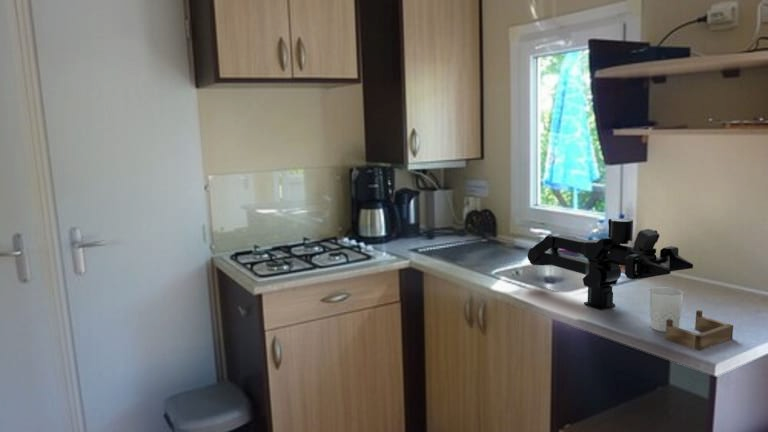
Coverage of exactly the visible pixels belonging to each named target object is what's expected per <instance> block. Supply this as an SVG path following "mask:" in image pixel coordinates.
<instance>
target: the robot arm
mask: <svg viewBox="0 0 768 432" xmlns="http://www.w3.org/2000/svg"><path fill="white" fill-rule="evenodd" d="M633 234H634V219H632V218H628V217H627V218H614V217H613V218H612V217H611V218H608V237H604V238H601V239H592V240H589V239H585V238H584V239H583V238H578V237H573V236H570V235H569V236H568V235H563V234H561V233H551V234H548V235H546V236H545V237H544V238H543V240H541V241H540V242H538V243H537V244H535V245H534V246H532V247H530V248H529V249H528V253H527V260H528V261H529V264H531V265H532V266H554V267H557V268H560V269H563V270H567V271H571V272H574V273H577V274H578V273H579V274H582V275H585V276H584V277H583V278H582V282H583V283H582V284H583V286H584V287H587V301H584V302H583V305H585V306H588V307H591V308H595V309H598V310H605V309H609V308H612V307H615V306H616V303H614V291H613V286H614V285H617V283H618V280H619V279H620V278H621V276H622V271H621V270H622V269H621V267H624V275H625V277H626V278H627V279H630V280H641V279H646V278H653V277H659V276H665V275H670V274H672V272H676V271H682V270H690V269H691V270H692V269H694V264H693V263H692V262H690V261H688V260H687V259H685V258H682V256H681V255H679V248H678V247H677V246H672V245H670V246H666V247H663V248H661V249H660V251H659V257H657V255H656V253H657V248H655V245H656V244H657V243H658V241H659V238H660V233H658V231H657V229H656V230H653V229H650V228H646V229H645V228H644V229H640V230H639V231H638V233H637V235H636V237H635V240H634V243H633V247H632V246H628V244H629V242H632V241H633V237H634V235H633ZM560 249H561V250H565V251H569V252H572V253H573V252H574V253H576V254H577V253H578V254H581V255H582V256H583V258H581V257H577V256H572V255H569V254H566V253H561V252H559V251H560ZM585 258H586V259H585Z"/></svg>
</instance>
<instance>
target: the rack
mask: <svg viewBox="0 0 768 432" xmlns="http://www.w3.org/2000/svg"><path fill="white" fill-rule="evenodd" d="M694 323H695V325H694V329H695V330H697V331H700V332H701V333H696V332H694V331H690V330H687V329H683V328H680V327H679V328H678V327H674V326H673V320H670V319H668V320H667V322H666V332H665V337H664V338H665V340H667V341H670V342H674V343H676V344H678V345H682V346H684V347H688V348H690V349H693V350H696V351H699V352H701V351H703V350H706V349H708V348H711V347H713V346H716V345H720V344H723V343H724V342H727V341H730V340H732V339H733V334H734V324H730V323H726V322H722V321H720V320H717V319H713V318H710V317H706V316H703V310H700V309H698V310H696V313H695V322H694Z"/></svg>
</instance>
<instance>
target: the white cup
mask: <svg viewBox="0 0 768 432" xmlns="http://www.w3.org/2000/svg"><path fill="white" fill-rule="evenodd" d="M683 296H684V292H683V291H682V290H680V289H677V288H674V287H673V288H672V287H667V286H666V287H665V286H664V287H663V286H659V287H658V286H656V287H651V288H650V289H649V318H650V328H651V329H653V330H655V331H658V332H662V333H666V322H667V320H668V319H670V320H673V326H674V327H678V328H680V321H681V314H682V307H683V300H684V299H683Z"/></svg>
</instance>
